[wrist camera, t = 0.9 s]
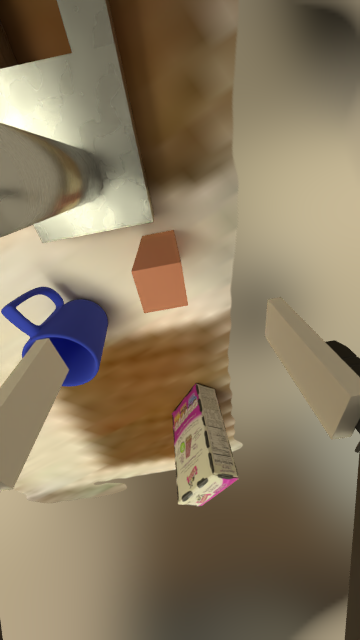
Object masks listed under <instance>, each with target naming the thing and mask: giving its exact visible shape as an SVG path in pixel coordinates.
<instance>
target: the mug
mask: <svg viewBox="0 0 360 640" xmlns="http://www.w3.org/2000/svg"><path fill="white" fill-rule="evenodd" d="M38 294H42V295H45V296H47V297H49V298H50V299H51V300H52V301H53V302H54V303H55V305H56V309H55V311H54V312H53V313H52V314H51V315H50V316H49V317H48V318H47V319H46V320H45V322H43V323H42V324H41V325H40V326H37V325H35V324H33V323H31V322H30V321H29V320H28V319H26V318H25V317H24V316H23V315H22V314H21V313H20V312H19V311H18V310H17V309H16V307H17V306H18V305H19V304H21V303H22V302H24V301H25V300H27V299H28V298H30V297H32V296H34V295H38ZM1 313H2V314H3V315H4V316H5V317H6V318H7V319H8V320H9V321H10V322H11V323H12V324H14V325H15V326H16V327H17V328H19V329H20V330H21V331H23V332H24V333H26V334H27V335H29V336H30V339H29V341H28V342H27V343H26V344H25V346H24V348H23V351H22V358H23V357H24V356H25V354H26V353H27V352H28V351H29V349H30V348H31V347H32V345H33V344H34V343H35V341H36V340H41V339H46V338H49V339H50V341H51V343H52V344H53V346H54V347H55V349H56V350H57V352H58V353H59V355H60V356H61V358H62V359H63V361H64V363H65V364H66V366H67V367H68V369H69V371H68V373H67V375H66V378H65V380H64V382H63V384H62V386H77V385H81V384H84V383H87V382H88V381H90V380H91V379H93V378H94V377H95V375H96V374H97V372H98V370H99V366H100V361H101V356H102V351H103V347H104V342H105V337H106V332H107V327H108V319H107V316H106V313H105V312H104V310H103V309H102V308H101V307H100V306H99V305H97V304H96V303H94V302H92V301H89V300H84V299H77V300H73V301H70V302H68V303H66V304H64V301H63V299H62V298H61V296H60V295H59V294H58V293H57V292H56V291H54V290H53V289H51V288H48V287H39V288H35V289H33V290H30V291H28V292H26V293H25V294H23V295H21V296H19V297H18V298H16V299H15V300H13V301H12V302H10V303H9V304H7V305H6V306H5V307H4V308H3V309H2V311H1Z"/></svg>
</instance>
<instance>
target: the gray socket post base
mask: <svg viewBox="0 0 360 640" xmlns="http://www.w3.org/2000/svg"><path fill="white" fill-rule="evenodd" d="M57 3H58V6H59V10H60V13H61V17H62V20H63V23H64V27H65V30H66V34H67V37H68V40H69V44H70V47H71V51H72V53H71V54H66V55H62V56H57V57H53V58H48V59H43V60H39V61H34V62H30V63H25V64H21V65H18V64H17V61H16V59H15V56H14V54H13V51H12V48H11V46H10V43H9V41H8V38H7V36H6V33H5V31H4V28H3V26H2V23H1V21H0V237H3V236H6V235H8V234H11V233H13V232H16V231H18V230H21V229H23V228H26V227H28V226H31V225H34V227H35V229H36V231H37V233H38V235H39V237H40V239H41V241H42V243H46V242H51V241H57V240H62V239H67V238H72V237H77V236H83V235H88V234H93V233H98V232H103V231H109V230H114V229H119V228H124V227H129V226H134V225H140V224H145V223H150V222H153V220H154V213H153V208H152V203H151V198H150V194H149V189H148V184H147V179H146V175H145V170H144V165H143V160H142V156H141V151H140V146H139V142H138V137H137V132H136V127H135V123H134V118H133V113H132V108H131V104H130V99H129V94H128V89H127V85H126V80H125V75H124V71H123V66H122V61H121V56H120V52H119V47H118V42H117V37H116V33H115V28H114V23H113V18H112V14H111V9H110V4H109V0H57Z"/></svg>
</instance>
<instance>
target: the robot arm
mask: <svg viewBox="0 0 360 640" xmlns="http://www.w3.org/2000/svg"><path fill="white" fill-rule="evenodd" d="M265 337H266V339H267V340H268V342H269V344H270V345H271V346H272V348H273V350H274V351H275V353H276V354H277V356H278V357H279V359H280V361H281V362H282V363H283V365H284V367H285V368H286V370H287V371H288V373H289V375H290V376H291V377H292V379H293V381H294V382H295V384H296V385H297V387H298V388H299V390H300V392H301V393H302V395H303V396H304V398H305V399H306V401H307V402H308V404H309V406H310V407H311V408H312V410H313V412H314V413H315V415H316V416H317V418H318V419H319V421H320V423H321V424H322V426H323V427H324V429H325V430H326V432H327V433H328V435H329V437H330V438H331V439H338V438H345V437H351V436H352V434H353V432H354V430H355V428H356V429H357V431H358V432H359V433H360V358H358V357H356V355H355V354H354V353H353V352H352V351H351V350H350V349H349V348H348V347H346V346H344V345H343V344H341V343H339V342H337V341H328V342H324V341H323V340H322V339H321V338H320V336H319V335H318V334H316V332H315V331H314V330H312V328H311V327H310V326H309V325H308V324H307V323H306V322H305V321H304V320H303V319H302V318H301V317H300V316H299V315H298V314H297V313H296V312H295V311H294V310H293V309H292V308H291V307H290V306H289V305H288V304H287V303H286V302H285V301H284V300H283V299H282V298H281V297H279V298H273V299H268V301H267V315H266V327H265ZM68 371H69V369H68V367H67V366H66V364H65V363H64V361H63V359H62V358H61V356H60V355H59V353H58V352H57V350H56V349H55V347H54V346H53V344H52V343H51V341H50V339H49V338H46V339H41V340H36V341H35V343H34V344H33V345H32V347H31V348H30V349H29V351H28V352H27V353H26V354H25V356H24V357H23V358H22V360H21V361H20V362H19V364H18V365H17V366H16V368H15V369H14V370H13V372H12V373H11V374H10V376H9V377H8V378H7V380H6V381H5V382H4V383H3V385H2V386H1V387H0V491H4V490H11V489H13V487H14V485H15V483H16V481H17V479H18V477H19V475H20V473H21V470H22V468H23V466H24V464H25V462H26V460H27V458H28V456H29V454H30V451H31V449H32V447H33V445H34V443H35V441H36V439H37V437H38V435H39V432H40V430H41V428H42V426H43V424H44V422H45V420H46V418H47V416H48V413H49V411H50V409H51V407H52V405H53V403H54V401H55V399H56V397H57V394H58V392H59V390H60V388H61V386H62V384H63V382H64V380H65V378H66V375H67V373H68ZM359 451H360V442H359V443H358V445H357V447H356V449H355V452H357V453H358V452H359ZM356 492H357V493H356V504H355V518H354V529H353V542H352V555H351V568H350V580H349V593H348V605H347V606H348V607H347V618H346V632H345V640H360V454H359V467H358V479H357V491H356ZM0 640H3V639H2V631H1V622H0Z"/></svg>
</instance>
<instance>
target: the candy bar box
mask: <svg viewBox="0 0 360 640" xmlns="http://www.w3.org/2000/svg"><path fill="white" fill-rule="evenodd" d="M172 416H173V432H174V447H175V464H176V477H177V478H176V479H177V494H178V504H184V505H195V506H202V505H204V504H205V503H206V502H208V501H209V500H210V499H211V498H213V497H214V496H216V495H217V494H219V493H220V492H221V491H223V490H224V489H225V488H227V487H228V486H229V485H231V484H232V483H233V482H235V481H236V480H238V479H239V477H238V474H237V469H236V466H235V463H234V459H233V455H232V451H231V447H230V444H229V440H228V436H227V433H226V430H225V426H224V422H223V418H222V415H221V411H220V407H219V403H218V400H217V396H216V392H215V389H213V388H211V387H207V386H203V385H200V384H195V385H194V386H193V388H192V389H191V390H190V391H189V393H188V394H187V395H186V397H185V398H184V399H183V401H182V402H181V403H180V404H179V406H178V407H177V408H176V409H175V411H174V412H173V413H172Z"/></svg>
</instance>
